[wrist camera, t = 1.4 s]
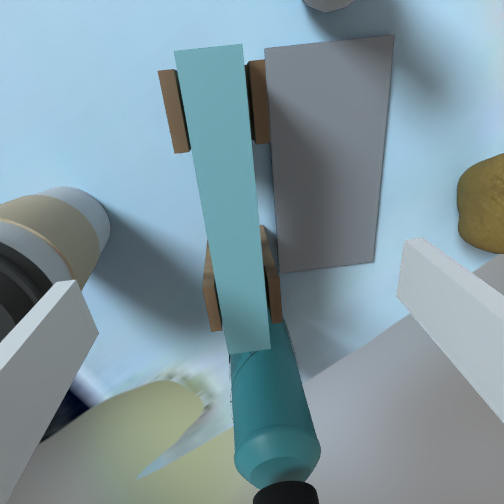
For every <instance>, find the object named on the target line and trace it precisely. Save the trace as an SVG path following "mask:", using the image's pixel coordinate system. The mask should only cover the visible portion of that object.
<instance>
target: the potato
mask: <svg viewBox="0 0 504 504" xmlns="http://www.w3.org/2000/svg"><path fill="white" fill-rule="evenodd" d="M457 207H458V211H459V223H458V231H459V234H460V236H461V237H462V238H463V239H464V240H465V241H466V242H467V243H469V244H470V245H472V246H474V247H476V248H479V249H482V250H485V251H488V252H491V253H495V254H504V153H503V154H500V155H497V156H494V157H492V158H489V159H486V160H484V161H481V162H479V163H477V164H475V165H473V166H471V167H470V168H469V169H467V170H466V171H465V172H464V173H463V175H462V176H461V177H460V179H459V182H458V187H457Z"/></svg>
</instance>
